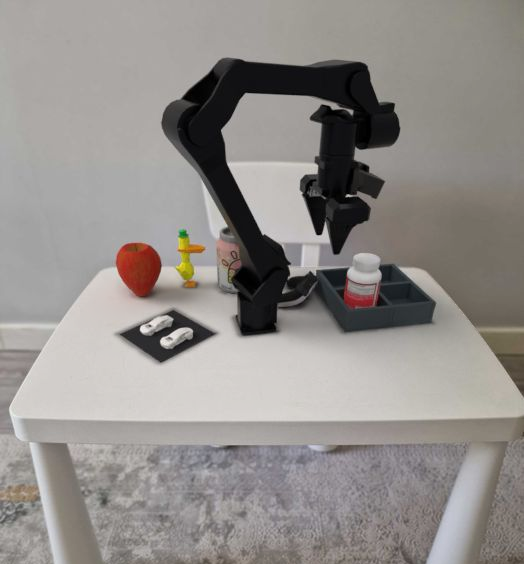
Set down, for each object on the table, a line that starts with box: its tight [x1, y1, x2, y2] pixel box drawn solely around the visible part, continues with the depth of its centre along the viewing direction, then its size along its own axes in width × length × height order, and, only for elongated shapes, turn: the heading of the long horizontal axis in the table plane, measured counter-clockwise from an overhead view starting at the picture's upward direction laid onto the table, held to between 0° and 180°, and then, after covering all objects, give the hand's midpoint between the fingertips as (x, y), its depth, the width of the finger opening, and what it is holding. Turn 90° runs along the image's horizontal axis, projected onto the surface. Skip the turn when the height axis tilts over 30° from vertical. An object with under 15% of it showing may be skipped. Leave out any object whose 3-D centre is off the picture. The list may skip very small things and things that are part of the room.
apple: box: [115, 242, 163, 297], centre depth 90 cm, size 9×8×11 cm
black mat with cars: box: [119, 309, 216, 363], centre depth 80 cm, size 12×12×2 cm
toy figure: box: [173, 228, 206, 288], centre depth 93 cm, size 7×4×12 cm, turn 89°
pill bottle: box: [344, 252, 382, 309], centre depth 83 cm, size 6×6×11 cm
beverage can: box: [215, 226, 242, 294], centre depth 93 cm, size 9×8×12 cm
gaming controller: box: [277, 270, 318, 308], centre depth 91 cm, size 11×4×7 cm
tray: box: [314, 263, 437, 333], centre depth 90 cm, size 17×17×4 cm
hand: (327, 244), depth 82 cm, fingers open, 9 cm apart
